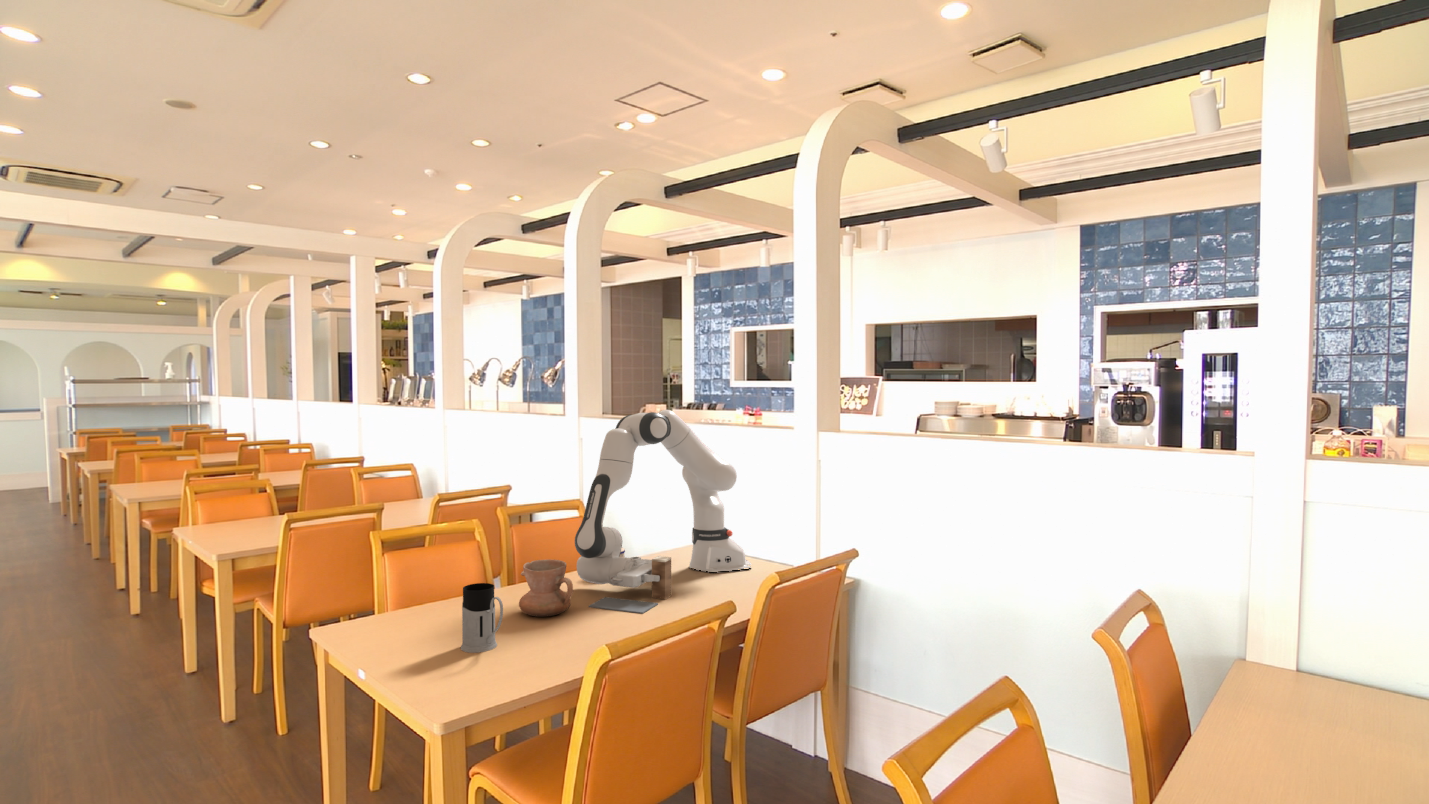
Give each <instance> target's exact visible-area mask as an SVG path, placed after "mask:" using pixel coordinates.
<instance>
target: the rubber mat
mask: <svg viewBox="0 0 1429 804" xmlns="http://www.w3.org/2000/svg"><path fill="white" fill-rule="evenodd" d="M658 605H659V603H658V602H653V601H645V600H643V601H642V600H635V599H625V598H615V597H610V596H607V597H606V596H604V597H603V598H601V599H599V600H597V601H595V602H593V603H591V604H589V605H588V608H592V609H601V610H610V611H617V612H618V611H619V612H625V613H633V614H634V613H635V614H641V615H643V614H645V613H647V612H648V611H650V610H651V609H653V608H655V607H656V606H658Z"/></svg>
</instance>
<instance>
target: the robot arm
mask: <svg viewBox="0 0 1429 804" xmlns="http://www.w3.org/2000/svg"><path fill="white" fill-rule="evenodd" d="M660 443H661V445H662V446H663V447H664V449H666V450H667V451H668V453H669V454H670V455H671V456H672V457H673V458H674V459H675V461H676V462H677V463H678V464H680V465H681V466H683V467H682V471H681V473H682V478H683V480H684V482H686V483H685V484H686V485H687V487H688V491H689V493H690V498H691V500H692V501H691V502H692V508H693V512H692V513H693V514H692V515H693V527H692V530H691V543H692V551H691V552H692V553H691V558H690V561H689V566H690V567H689V566H688V567H689V568H690V569H691V568H694V569H696V570H695V571H699V570H701V572H706V571H708V572H707V573H709V572H717V573H719V572H718V571H729V572H733V571H732V570H738V569H744V568H750V567H751V566H748V565H752V563H751V561H749V560H747V559H746V554H745V553H746V552H745V551H744V549H743V547H741V546H740V545H739V544H738V543H737V542H735V541H734V540H733V539H731V538H730V537H732V536H733V534H734V533H733V531H732V530H731V529H728V528H727V527H725V507H724V503H723V502H722V501H721V499H720V497H719V494H718V492H726V491H729V490H731V489H732V488H734V486H735V484H736V482H737V472H736V469H735V467H734V466H733V465H732V464H730V463H728V462H727V461H726V460H724V459H722V458H721V457H720V456H719V454H717V453H715V451H714V450H712V449H710V448H709V447H708V446H707V445H706V444H705V443H703V442H702V440H701V439H700V438H699V437H698V435H696V434H695V432H694V431H693V430H692V428H691V427H690V426H689V425H688V424H687V423H686V422H685V421H684V419H682V418H681V417H680V416H679V415H678V414H677V413H675V412H674V411H672V410H670V409H663V410H661V411H659V412H638V413H634V414H628V415H626V416H624V417H621V419H620V420H619V421H618V422H617V423H616V426H615V428H613V429H611V430H610V429H609V431H607V433H606V434H605V437H604V440H603V443H602V447H601V450H600V454H599V459H598V461H599V462H598V467H597V471H596V474H595V477H594V479H593V481H592V483H591V486H590V489H589V493H588V497H587V501H586V506H585V510H584V513H583V517H582V520H581V524H580V526H579V527H578V528H577V529H578V530H577V531H576V532H575V533H576V534H575V537H574V547H575V549H576V551H577V553H578V554H579V555H580V557H578V559H577V561H576V573H577V576H579V579H581V580H583V581H585V582H587V583H591V584H592V583H593V584H598V585H606V584H609V585H612V586H617V587H626V588H634V589H635V588H638V587H640V586H642V585H643V584H645V583H650V582H651V583H652V581H657V582H658V581H660V580H661V575H657V574H656V575H652V559H648V558H643V559H642V557H641V556H633V557H625V558H622V557H619V556H620V552H621V548H623V547H622V546H623V536H622V534H621V533H620V532H619V530H618V529H616V528H614V527H609V526H604V523H603V522H604V520H605V516H606V510H607V505H608V502H609V500H610V497H611V496H612V495H613V494H614V493H615V492H617V491H619V490H622V489H623V488H625V487H626V486H627V485H628V484H629V482H630V480H631V478H632V477H631V476H632V473H633V467H634V460H635V459H634V458H635V451H636V450H637V449H638V448H637V447H638V446H639V447H641V446H643V447H644V446H645V447H646V446H649V445H657V444H660ZM694 569H693V570H694Z"/></svg>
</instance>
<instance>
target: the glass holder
mask: <svg viewBox="0 0 1429 804" xmlns="http://www.w3.org/2000/svg"><path fill="white" fill-rule="evenodd" d="M495 600H497V601H498V604H499V617H498V618H499V619H498V622H497V625H496V604H495ZM461 606H462V607H461V609H462V610H461V611H462V612H461V613H462V614H461V615H462V616H461V619H462V620H461V623H462V625H461V626H462V631H461V632H462V633H461V634H462V641H461V642H462V643H461V645H460V650H461V651H463V652H465V653H473V654H475V653H484V652H487V651H492V650H494V649H495V648H497V647H498V643H497V641H496V633H497V631H498V630H499V629H500V628H501V624H502V622H503V615H504V604H503V601H502V598H500V597H498V596H495V585H494V584H493V583H490V582H489V583H487V582H477V583H471V584H467V585H465V586H463V587H462V605H461Z"/></svg>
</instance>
